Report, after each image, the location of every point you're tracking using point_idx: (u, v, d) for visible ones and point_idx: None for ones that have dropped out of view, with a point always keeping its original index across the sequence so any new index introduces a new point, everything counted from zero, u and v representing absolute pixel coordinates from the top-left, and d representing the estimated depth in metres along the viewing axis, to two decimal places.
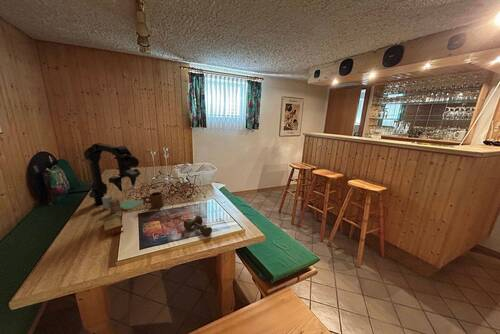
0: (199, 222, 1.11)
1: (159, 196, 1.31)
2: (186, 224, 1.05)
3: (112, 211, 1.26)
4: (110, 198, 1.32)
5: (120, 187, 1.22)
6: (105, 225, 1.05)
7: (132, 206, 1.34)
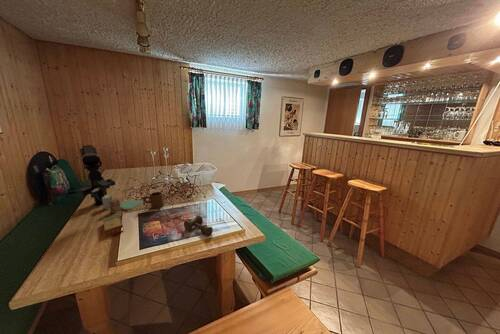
0: (199, 222, 1.11)
1: (159, 196, 1.31)
2: (187, 224, 1.05)
3: (112, 211, 1.26)
4: (110, 198, 1.32)
5: (98, 196, 1.15)
6: (105, 225, 1.05)
7: (132, 206, 1.34)
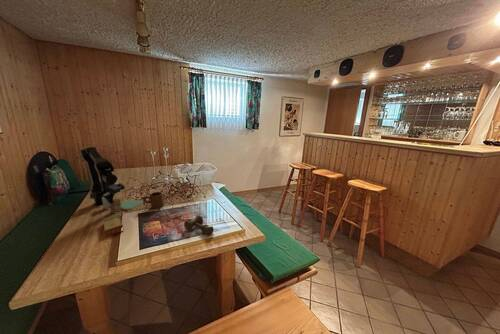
0: (200, 222, 1.11)
1: (159, 196, 1.31)
2: (187, 224, 1.05)
3: (112, 210, 1.26)
4: None
5: (109, 200, 1.22)
6: (105, 225, 1.05)
7: (132, 206, 1.34)
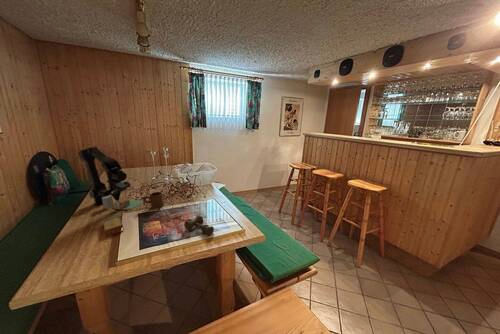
0: (200, 222, 1.11)
1: (159, 196, 1.31)
2: (187, 224, 1.05)
3: (117, 202, 1.29)
4: (110, 198, 1.32)
5: (116, 197, 1.26)
6: (105, 225, 1.05)
7: (132, 206, 1.34)
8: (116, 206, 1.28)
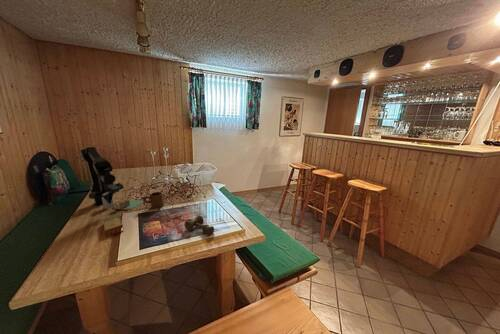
0: (200, 222, 1.11)
1: (159, 196, 1.31)
2: (188, 224, 1.05)
3: (117, 202, 1.29)
4: None
5: (108, 199, 1.21)
6: (105, 225, 1.05)
7: (132, 206, 1.34)
8: (116, 206, 1.28)
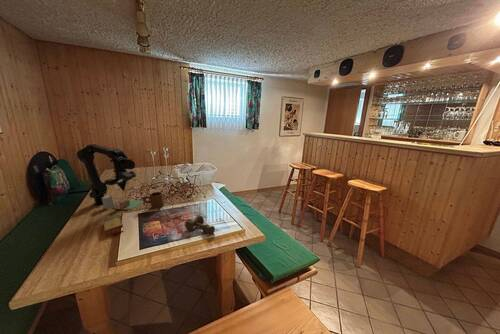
0: (200, 222, 1.11)
1: (159, 196, 1.31)
2: (188, 224, 1.05)
3: (117, 202, 1.29)
4: (110, 198, 1.32)
5: (122, 186, 1.30)
6: (105, 225, 1.05)
7: (132, 206, 1.34)
8: (116, 206, 1.28)
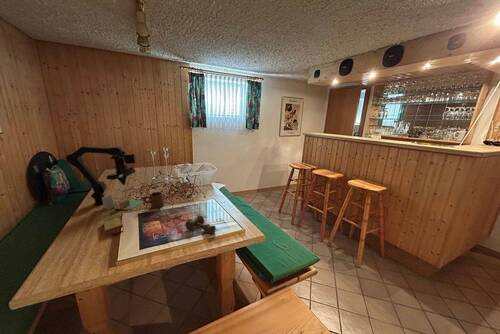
0: (201, 222, 1.11)
1: (159, 196, 1.31)
2: (189, 224, 1.05)
3: (117, 202, 1.29)
4: (110, 198, 1.32)
5: (122, 181, 1.40)
6: (105, 225, 1.05)
7: (132, 206, 1.34)
8: (116, 206, 1.28)
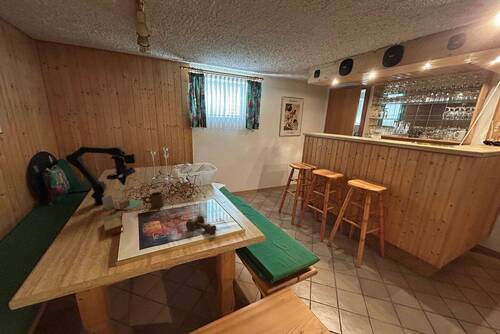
0: (201, 222, 1.11)
1: (159, 196, 1.31)
2: (189, 224, 1.05)
3: (117, 202, 1.29)
4: (110, 198, 1.32)
5: (122, 181, 1.40)
6: (105, 225, 1.05)
7: (132, 206, 1.34)
8: (116, 206, 1.28)
